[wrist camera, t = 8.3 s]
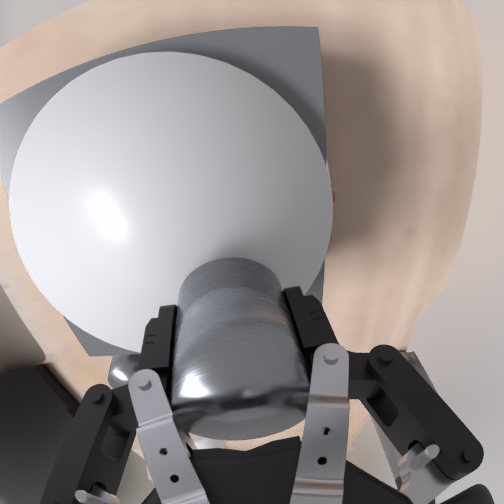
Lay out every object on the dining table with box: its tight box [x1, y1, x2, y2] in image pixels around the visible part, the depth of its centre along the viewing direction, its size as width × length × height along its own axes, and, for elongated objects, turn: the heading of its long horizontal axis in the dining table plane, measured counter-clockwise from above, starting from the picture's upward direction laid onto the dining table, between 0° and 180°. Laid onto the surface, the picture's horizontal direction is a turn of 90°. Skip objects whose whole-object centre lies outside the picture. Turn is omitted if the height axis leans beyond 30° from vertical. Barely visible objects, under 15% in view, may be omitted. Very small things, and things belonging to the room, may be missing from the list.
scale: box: [0, 26, 335, 356], centre depth 17 cm, size 18×18×9 cm
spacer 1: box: [108, 354, 141, 388], centre depth 27 cm, size 5×5×6 cm
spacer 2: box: [170, 257, 311, 440], centre depth 11 cm, size 5×5×6 cm
